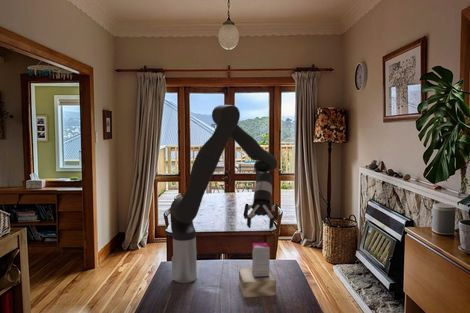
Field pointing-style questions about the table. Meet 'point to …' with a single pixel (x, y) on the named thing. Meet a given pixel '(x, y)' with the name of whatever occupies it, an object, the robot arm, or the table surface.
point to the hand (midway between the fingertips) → (259, 227)
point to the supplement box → (260, 260)
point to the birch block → (256, 284)
